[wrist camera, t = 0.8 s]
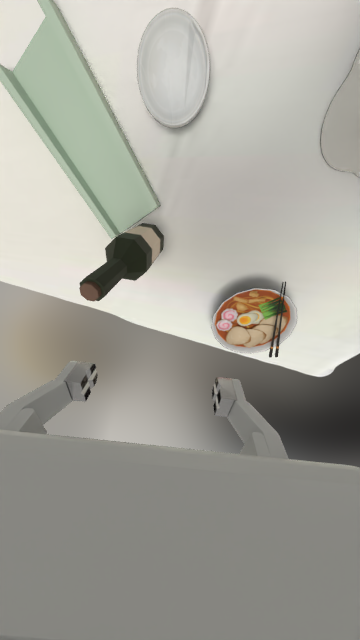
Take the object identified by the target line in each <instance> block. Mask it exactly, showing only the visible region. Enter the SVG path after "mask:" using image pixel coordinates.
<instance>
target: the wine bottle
mask: <svg viewBox="0 0 360 640" xmlns="http://www.w3.org/2000/svg"><path fill="white" fill-rule="evenodd" d="M163 239H164V236H163V235H162V233H161V232H160V231H159V229H158V228H157V227H156V225H151V224H144V223H142V224H141V225H139V226H137V227H135V228H133V229H131V230H129V231H127V232H125V233H123V234H121V235H119V236H117V237H116V238H115V239H114V240H113V241H112V242H111V243H110V244H109V245H108V246H107V247H106V248H105V250H106V258H107V262H106V263H105V264H104V265H102V266H101V267H100V268H98V269H97V270H95V271H94V272H93V273H91V274H90V275H88V276H87V277H86V278H84V279H83V280H82V281H81V282H80V293H81V295H82V296H83V297H84V298H85V299H87V300H90V301H95V300H96V301H100V300H101V299H102V298H103V297H105V296H106V295H107V293H108V292H109V291H110V290H111V289H112V288H113V287H114V286H115V285H116V284H117V283H118V282H119V281H120V280H121V279H122V278H123V279H129V280H137V279H138V278H139V277H140V276H142V275H143V274H144V273H145V272H147V270H148V269H149V268H150V266H151V265H152V263H153V262H154V261H155V259H156V258H157V257H158V255H159V254H160V252H161V251H162V250H163Z"/></svg>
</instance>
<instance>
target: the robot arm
mask: <svg viewBox="0 0 360 640" xmlns="http://www.w3.org/2000/svg"><path fill="white" fill-rule="evenodd" d="M321 149H322V153H323V156H324V159H325V160H326V162H327V163H328V164H329V165H330V166H331V167H332V168H334V169H336V170H339V171H346V172H353V173H354V174H355V175H357V176H358V177H359V178H360V49H359V52H358V54H357V56H356V59H355V61H354V64H353V67H352V69H351V71H350V73H349V75H348V77H347V78H346V80H345V81H344V83H343V84H342V86H341V87H340V89H339V90H338V92H337V93H336V95H335V97H334V99H333V100H332V102H331V104H330V107H329V109H328V111H327V114H326V117H325V120H324V123H323V127H322V133H321ZM95 369H96V365H95V364H93V363H85V362H78V361H70V362H69V363H68V364H67V365H66V367H65V368H64V369H63V371H62V372H61V373H60V374H59V375H58V377H57V378H56V379H55V380H54V381H53V380H52V381H50V382H48V383H46V384H44V385H43V386H41V387H39V388H37V389H35V390H34V391H32V392H30V393H28V394H26V395H24V396H23V397H21V398H19V399H17V400H15V401H14V402H12V403H10V404H8V405H7V406H6V407H5V408H4V409H3V410H2V411H1V412H0V640H360V468H358V467H355V466H350V465H339V464H329V463H320V462H311V461H301V460H290V459H288V456H287V454H286V451H285V449H284V447H283V444H282V442H281V439H280V436H279V434H278V433H277V432H276V431H275V430H274V429H273V428H272V427H271V426H270V425H269V424H268V422H267V421H266V420H265V419H264V418H263V417H262V416H261V415H260V414H259V413H258V412H257V411H256V410H255V408H253V406H252V405H251V404H250V403H249V402H246V400H245V396H244V393H243V390H242V386H241V383H240V381H239V380H237V379H230V378H219V377H217V378H216V379H215V384H214V385H213V389H212V399H213V400H214V405H213V407H214V415H216V416H223V417H227V418H228V419H229V421H230V423H231V424H232V426H233V427H234V429H235V430H236V432H237V433H238V435H239V436H240V438H241V439H242V441H243V442H244V444H245V445H244V447H243V448H242V450H241V451H240V453H239V454H233V453H223V452H213V451H204V450H194V449H184V448H175V447H165V446H156V445H146V444H137V443H136V444H135V443H126V442H116V441H107V440H98V439H88V438H78V437H69V436H59V435H49V434H47V431H46V429H45V428H44V426H43V424H45V423H46V422H47V421H48V420H50V419H51V418H52V417H53V416H55V415H56V414H57V413H58V412H59V411H61V410H62V409H63V408H65V407H66V406H67V405H68V404H69V403H71V402H72V400H74V401H86V400H87V399H88V397H89V395H90V393H91V391H90V389H91V388H92V387H94V386H95V384H96V381H97V376H98V375H97V372H96V371H95Z"/></svg>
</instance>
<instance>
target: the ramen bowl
mask: <svg viewBox="0 0 360 640" xmlns="http://www.w3.org/2000/svg"><path fill="white" fill-rule="evenodd" d="M285 287H286V282H285ZM285 287H284V294H282V288H283V283H282V288H281V293H280V292H278V291H276V290H271V289H259V288H252V289H249V290H245V291H241V292H238V293H236V294H234V295H233V296H231V297H230V298H228V299H227V300H225V301H224V302H223V303H222V304H221V305H220V307H219V308H218V310H217V311H216V312H215V314H214V316H213V321H212V327H211V328H212V331H213V334H214V336H215V339H216V340H217V341H218V342H219V343H220V344H221V345H222V346H223V347H225V348H227V349H230V350H232V351H235V352H240V353H256V352H262V351H266V350H268V349H270V352H269V357H272V351H273V347H275V346H276V352H275V357H278V350H279V344H281V343H282V342H283V341H284V340H285V339H286V338H287V337H289V336H290V335H291V333H292V331H293V329H294V327H295V325H296V324H297V309H296V307H295V306H294V304H293V302H292V301H291V299H290V298H289V297H288V296H286V295H285Z"/></svg>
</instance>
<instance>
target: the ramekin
mask: <svg viewBox="0 0 360 640" xmlns="http://www.w3.org/2000/svg"><path fill="white" fill-rule="evenodd" d="M137 77H138V84H139V89H140V92H141V96H142V99H143V101H144V103H145V105H146V107H147V109H148V111H149V112H150V114H151V115H152V116H153V117H154V118H155V119H156V120H157V121H158V122H159V123H160V124H162V125H164V126H166V127H170V128H180V127H183V126H185V125H187V124H188V123H189V122H191V121H192V120H193V119H194V118H195V116H196V115H197V114H198V112H199V111H200V109H201V107H202V105H203V103H204V100H205V97H206V94H207V90H208V85H209V78H210V58H209V51H208V46H207V42H206V39H205V36H204V34H203V31H202V29H201V27H200V26H199V24H198V23H197V21H196V20H195V19H194V18H193V17H192V16H191V15H190V14H189V13H187V12H186V11H184V10H182V9H179V8H169V9H165V10H163V11H161V12H160V13H158V14H157V15H156V16H155V17H154V18H153V19H152V20H151V21H150V23H149V24H148V26H147V27H146V29H145V31H144V34H143V36H142V39H141V42H140V45H139V50H138V58H137Z"/></svg>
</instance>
